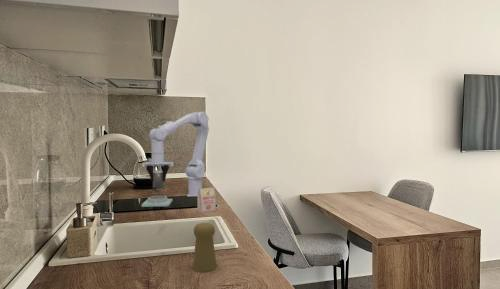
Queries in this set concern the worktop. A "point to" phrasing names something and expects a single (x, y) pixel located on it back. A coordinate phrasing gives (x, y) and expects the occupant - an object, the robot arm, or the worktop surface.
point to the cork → (204, 248)
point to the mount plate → (157, 203)
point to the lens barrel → (158, 179)
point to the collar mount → (157, 199)
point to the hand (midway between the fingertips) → (158, 181)
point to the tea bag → (206, 200)
